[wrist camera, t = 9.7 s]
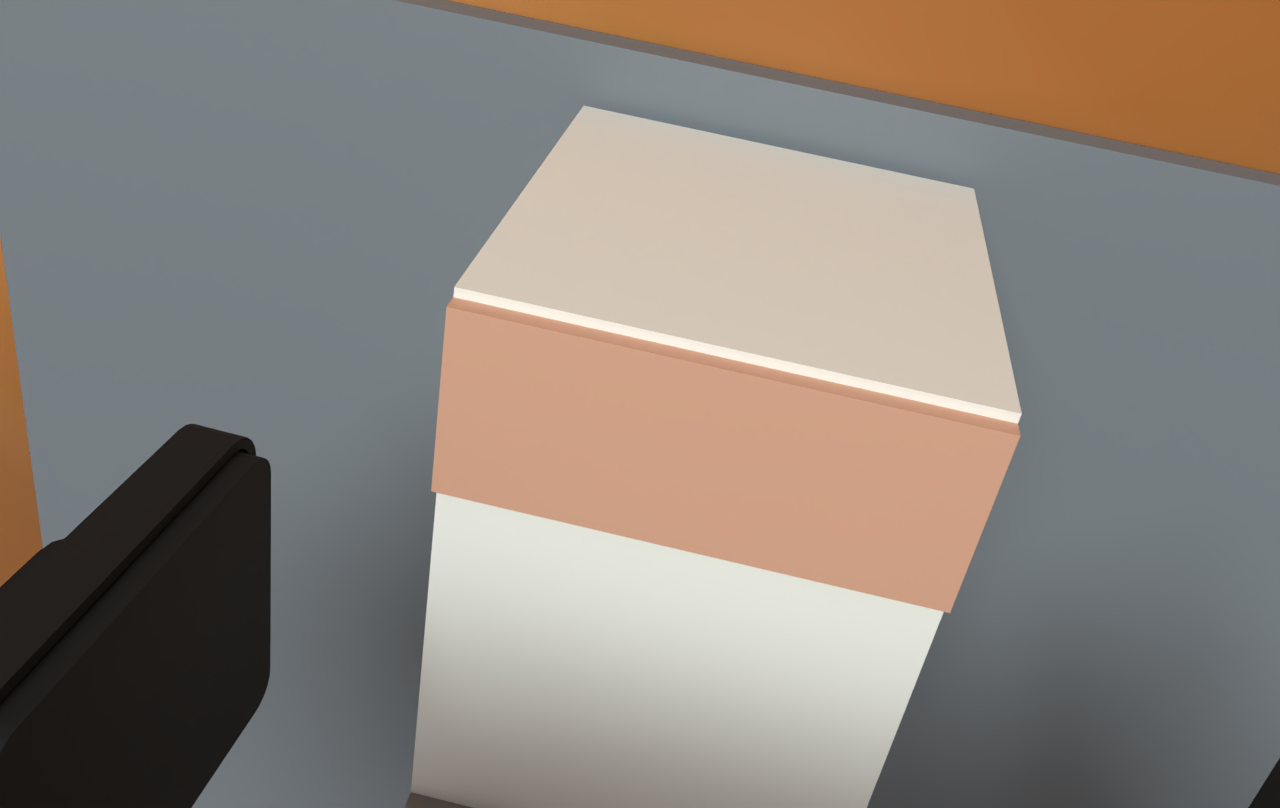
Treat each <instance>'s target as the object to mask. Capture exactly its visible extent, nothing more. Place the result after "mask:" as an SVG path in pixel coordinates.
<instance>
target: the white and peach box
mask: <svg viewBox="0 0 1280 808" xmlns="http://www.w3.org/2000/svg"><path fill="white" fill-rule="evenodd" d="M1021 415H1022V413H1021V408H1020V403H1019V398H1018V394H1017V389H1016V384H1015V380H1014V375H1013V370H1012V365H1011V361H1010V356H1009V351H1008V346H1007V342H1006V337H1005V332H1004V328H1003V323H1002V318H1001V313H1000V309H999V304H998V299H997V294H996V290H995V285H994V280H993V276H992V271H991V266H990V261H989V257H988V252H987V247H986V242H985V238H984V233H983V228H982V224H981V219H980V214H979V209H978V205H977V200H976V195H975V190H974V189H973V188H969V187H964V186H959V185H954V184H950V183H945V182H940V181H936V180H931V179H926V178H922V177H917V176H912V175H908V174H903V173H898V172H893V171H889V170H884V169H879V168H875V167H870V166H865V165H861V164H856V163H851V162H847V161H842V160H837V159H832V158H828V157H823V156H818V155H814V154H809V153H804V152H800V151H795V150H790V149H785V148H781V147H776V146H771V145H767V144H762V143H757V142H753V141H748V140H743V139H739V138H734V137H729V136H724V135H720V134H715V133H710V132H706V131H701V130H696V129H692V128H687V127H682V126H678V125H673V124H668V123H663V122H659V121H654V120H649V119H645V118H640V117H635V116H631V115H626V114H621V113H617V112H612V111H607V110H602V109H598V108H593V107H588V106H583V107H582V109H581V110H580V111H579V113H578V114H577V116H576V117H575V118H574V120H573V121H572V123H571V124H570V125H569V127H568V128H567V130H566V131H565V132H564V134H563V135H562V137H561V138H560V139H559V141H558V142H557V144H556V145H555V146H554V148H553V149H552V151H551V152H550V153H549V155H548V156H547V158H546V159H545V160H544V162H543V163H542V165H541V166H540V167H539V169H538V170H537V172H536V173H535V174H534V176H533V177H532V179H531V180H530V181H529V183H528V184H527V186H526V187H525V188H524V190H523V191H522V193H521V194H520V195H519V197H518V198H517V200H516V201H515V202H514V204H513V205H512V207H511V208H510V209H509V211H508V212H507V214H506V215H505V216H504V218H503V219H502V221H501V222H500V223H499V225H498V226H497V228H496V229H495V230H494V232H493V233H492V235H491V236H490V237H489V239H488V240H487V242H486V243H485V244H484V246H483V247H482V249H481V250H480V251H479V253H478V254H477V256H476V257H475V258H474V260H473V261H472V263H471V264H470V266H469V267H468V268H467V270H466V271H465V273H464V274H463V275H462V277H461V278H460V280H459V281H458V282H457V284H456V285H455V287H454V295H453V298H452V300H451V301H450V302H449V304H448V305H447V307H446V318H445V330H444V342H443V354H442V366H441V378H440V390H439V402H438V415H437V427H436V439H435V451H434V463H433V475H432V487H431V491H432V492H436V505H435V516H434V528H433V540H432V551H431V563H430V574H429V586H428V598H427V609H426V621H425V633H424V644H423V656H422V667H421V679H420V691H419V702H418V714H417V726H416V737H415V749H414V761H413V772H412V784H411V793H410V795H409V798H408V800H407V802H406V805H405V808H867V806H868V803H869V800H870V798H871V795H872V793H873V790H874V788H875V785H876V783H877V780H878V778H879V775H880V773H881V770H882V767H883V765H884V762H885V760H886V757H887V755H888V752H889V750H890V747H891V745H892V742H893V740H894V737H895V734H896V732H897V729H898V727H899V724H900V722H901V719H902V717H903V714H904V712H905V709H906V707H907V704H908V701H909V699H910V696H911V694H912V691H913V689H914V686H915V684H916V681H917V679H918V676H919V674H920V671H921V668H922V666H923V663H924V661H925V658H926V656H927V653H928V651H929V648H930V646H931V643H932V641H933V638H934V635H935V633H936V630H937V628H938V625H939V623H940V620H941V618H942V615H943V613H944V612H948V613H950V612H951V609H952V607H953V604H954V602H955V599H956V597H957V594H958V592H959V589H960V587H961V584H962V582H963V579H964V577H965V574H966V572H967V569H968V566H969V564H970V561H971V559H972V556H973V554H974V551H975V549H976V546H977V544H978V541H979V539H980V536H981V534H982V531H983V529H984V526H985V524H986V521H987V519H988V516H989V514H990V511H991V509H992V506H993V504H994V501H995V499H996V496H997V494H998V491H999V489H1000V486H1001V484H1002V481H1003V479H1004V476H1005V473H1006V471H1007V468H1008V466H1009V463H1010V461H1011V458H1012V456H1013V453H1014V451H1015V448H1016V446H1017V443H1018V441H1019V438H1020V431H1019V426H1018V422H1019V420H1020V417H1021Z"/></svg>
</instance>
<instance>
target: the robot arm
mask: <svg viewBox="0 0 1280 808" xmlns="http://www.w3.org/2000/svg"><path fill="white" fill-rule="evenodd" d="M270 640H271V467H270V463H269V461H268V460H267V459H265V458H263V457H259V456H256V449H255V446H254V443H253V441H252V440H251V439H249V438H248V437H244V436H240V435H236V434H232V433H228V432H224V431H220V430H216V429H213V428H209V427H205V426H201V425H197V424H187V425H185V426H184V427H182V428H181V429H179V430H178V431H177V432H176V433H175V434H174V435H173V436H172V437H171V438H170V439H169V440H168V441H167V442H165V443H164V444H163V445H162V446H161V447H160V448H159V449H158V450H157V451H156V452H155V453H154V454H153V455H152V456H151V457H150V458H149V459H148V460H146V461H145V462H144V463H143V464H142V465H141V466H140V467H139V468H138V469H137V470H136V471H135V472H134V473H133V474H132V475H131V476H130V477H129V478H128V479H126V480H125V481H124V482H123V483H122V484H121V485H120V486H119V487H118V488H117V489H116V490H115V491H114V492H113V493H112V494H111V495H110V496H109V497H108V498H106V499H105V500H104V501H103V502H102V503H101V504H100V505H99V506H98V507H97V508H96V509H95V510H94V511H93V512H92V513H91V514H90V515H89V516H88V517H86V518H85V519H84V520H83V521H82V522H81V523H80V524H79V525H78V526H77V527H76V528H75V529H74V530H73V531H72V532H71V533H70V534H69V535H67V536H66V537H65V538H64V539H61V540H57V541H53V542H51V543H50V544H48V545H47V546H46V547H44V548H43V549H42V550H40V551H39V552H38V553H36V554H35V555H34V556H33V557H32V558H31V559H30V560H29V561H28V562H27V563H26V564H25V565H24V566H23V567H21V568H20V569H19V570H18V571H17V572H16V573H15V574H14V575H13V576H12V577H11V578H10V579H9V580H8V581H7V582H5V583H4V584H3V585H2V586H1V587H0V808H192V806H193V805H194V803H195V802H196V800H197V799H198V797H199V796H200V794H201V793H202V791H203V790H204V788H205V787H206V785H207V784H208V782H209V781H210V779H211V778H212V776H213V775H214V773H215V772H216V770H217V769H218V767H219V766H220V764H221V763H222V761H223V760H224V758H225V757H226V755H227V754H228V753H229V751H230V750H231V748H232V747H233V745H234V744H235V742H236V741H237V739H238V738H239V736H240V735H241V733H242V732H243V730H244V729H245V727H246V726H247V724H248V723H249V721H250V720H251V718H252V717H253V715H254V714H255V712H256V711H257V709H258V707H259V705H260V704H261V701H262V699H263V697H264V695H265V692H266V689H267V686H268V681H269V677H270ZM1248 808H1280V758H1279V760H1278V761H1277V763H1276V764H1275V766H1274V768H1273V769H1272V771H1271V772H1270V774H1269V776H1268V777H1267V779H1266V780H1265V782H1264V783H1263V785H1262V787H1261V788H1260V790H1259V791H1258V793H1257V795H1256V796H1255V798H1254V799H1253V801H1252V803H1251V804H1250V806H1249V807H1248Z"/></svg>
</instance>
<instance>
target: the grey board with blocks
mask: <svg viewBox="0 0 1280 808" xmlns="http://www.w3.org/2000/svg"><path fill="white" fill-rule="evenodd" d="M583 106H588V107H593V108H598V109H602V110H607V111H612V112H617V113H621V114H626V115H631V116H635V117H640V118H645V119H649V120H654V121H659V122H663V123H668V124H673V125H678V126H682V127H687V128H692V129H696V130H701V131H706V132H710V133H715V134H720V135H724V136H729V137H734V138H739V139H743V140H748V141H753V142H757V143H762V144H767V145H771V146H776V147H781V148H785V149H790V150H795V151H800V152H804V153H809V154H814V155H818V156H823V157H828V158H832V159H837V160H842V161H847V162H851V163H856V164H861V165H865V166H870V167H875V168H879V169H884V170H889V171H893V172H898V173H903V174H908V175H912V176H917V177H922V178H926V179H931V180H936V181H940V182H945V183H950V184H954V185H959V186H964V187H969V188H973V189H974V190H975V195H976V200H977V205H978V209H979V214H980V219H981V224H982V228H983V233H984V238H985V242H986V247H987V252H988V257H989V261H990V266H991V271H992V276H993V280H994V285H995V290H996V294H997V299H998V304H999V309H1000V313H1001V318H1002V323H1003V328H1004V332H1005V337H1006V342H1007V346H1008V351H1009V356H1010V361H1011V365H1012V370H1013V375H1014V380H1015V384H1016V389H1017V394H1018V398H1019V403H1020V408H1021V413H1022V415H1021V417H1020V420H1019V422H1018V426H1019V431H1020V438H1019V441H1018V443H1017V446H1016V448H1015V451H1014V453H1013V456H1012V458H1011V461H1010V463H1009V466H1008V468H1007V471H1006V473H1005V476H1004V479H1003V481H1002V484H1001V486H1000V489H999V491H998V494H997V496H996V499H995V501H994V504H993V506H992V509H991V511H990V514H989V516H988V519H987V521H986V524H985V526H984V529H983V531H982V534H981V536H980V539H979V541H978V544H977V546H976V549H975V551H974V554H973V556H972V559H971V561H970V564H969V566H968V569H967V572H966V574H965V577H964V579H963V582H962V584H961V587H960V589H959V592H958V594H957V597H956V599H955V602H954V604H953V607H952V609H951V612H950V613H948V612H944V613H943V615H942V618H941V620H940V623H939V625H938V628H937V630H936V633H935V635H934V638H933V641H932V643H931V646H930V648H929V651H928V653H927V656H926V658H925V661H924V663H923V666H922V668H921V671H920V674H919V676H918V679H917V681H916V684H915V686H914V689H913V691H912V694H911V696H910V699H909V701H908V704H907V707H906V709H905V712H904V714H903V717H902V719H901V722H900V724H899V727H898V729H897V732H896V734H895V737H894V740H893V742H892V745H891V747H890V750H889V752H888V755H887V757H886V760H885V762H884V765H883V767H882V770H881V773H880V775H879V778H878V780H877V783H876V785H875V788H874V790H873V793H872V795H871V798H870V800H869V803H868V806H867V808H1248V807H1249V806H1250V804H1251V803H1252V801H1253V799H1254V798H1255V796H1256V795H1257V793H1258V791H1259V790H1260V788H1261V787H1262V785H1263V783H1264V782H1265V780H1266V779H1267V777H1268V776H1269V774H1270V772H1271V771H1272V769H1273V768H1274V766H1275V764H1276V763H1277V761H1278V760H1279V758H1280V174H1275V173H1270V172H1265V171H1261V170H1256V169H1251V168H1246V167H1241V166H1237V165H1232V164H1227V163H1222V162H1218V161H1213V160H1208V159H1203V158H1198V157H1194V156H1189V155H1184V154H1179V153H1175V152H1170V151H1165V150H1160V149H1155V148H1151V147H1146V146H1141V145H1136V144H1132V143H1127V142H1122V141H1117V140H1112V139H1108V138H1103V137H1098V136H1093V135H1088V134H1084V133H1079V132H1074V131H1069V130H1065V129H1060V128H1055V127H1050V126H1045V125H1041V124H1036V123H1031V122H1026V121H1022V120H1017V119H1012V118H1007V117H1002V116H998V115H993V114H988V113H983V112H979V111H974V110H969V109H964V108H959V107H955V106H950V105H945V104H940V103H935V102H931V101H926V100H921V99H916V98H912V97H907V96H902V95H897V94H892V93H888V92H883V91H878V90H873V89H869V88H864V87H859V86H854V85H849V84H845V83H840V82H835V81H830V80H825V79H821V78H816V77H811V76H806V75H802V74H797V73H792V72H787V71H782V70H778V69H773V68H768V67H763V66H759V65H754V64H749V63H744V62H739V61H735V60H730V59H725V58H720V57H716V56H711V55H706V54H701V53H696V52H692V51H687V50H682V49H677V48H672V47H668V46H663V45H658V44H653V43H649V42H644V41H639V40H634V39H629V38H625V37H620V36H615V35H610V34H606V33H601V32H596V31H591V30H586V29H582V28H577V27H572V26H567V25H562V24H558V23H553V22H548V21H543V20H539V19H534V18H529V17H524V16H519V15H515V14H510V13H505V12H500V11H496V10H491V9H486V8H481V7H476V6H472V5H467V4H462V3H457V2H453V1H448V0H0V237H1V244H2V251H3V259H4V266H5V273H6V281H7V288H8V295H9V303H10V310H11V317H12V324H13V332H14V339H15V346H16V354H17V361H18V368H19V376H20V383H21V390H22V398H23V405H24V412H25V420H26V427H27V434H28V441H29V449H30V456H31V463H32V471H33V478H34V485H35V493H36V500H37V507H38V515H39V522H40V529H41V536H42V544H43V548H44V547H46V546H47V545H48V544H50V543H51V542H53V541H57V540H61V539H64V538H65V537H66V536H67V535H69V534H70V533H71V532H72V531H73V530H74V529H75V528H76V527H77V526H78V525H79V524H80V523H81V522H82V521H83V520H84V519H85V518H86V517H88V516H89V515H90V514H91V513H92V512H93V511H94V510H95V509H96V508H97V507H98V506H99V505H100V504H101V503H102V502H103V501H104V500H105V499H106V498H108V497H109V496H110V495H111V494H112V493H113V492H114V491H115V490H116V489H117V488H118V487H119V486H120V485H121V484H122V483H123V482H124V481H125V480H126V479H128V478H129V477H130V476H131V475H132V474H133V473H134V472H135V471H136V470H137V469H138V468H139V467H140V466H141V465H142V464H143V463H144V462H145V461H146V460H148V459H149V458H150V457H151V456H152V455H153V454H154V453H155V452H156V451H157V450H158V449H159V448H160V447H161V446H162V445H163V444H164V443H165V442H167V441H168V440H169V439H170V438H171V437H172V436H173V435H174V434H175V433H176V432H177V431H178V430H179V429H181V428H182V427H184V426H185V425H187V424H197V425H201V426H205V427H209V428H213V429H216V430H220V431H224V432H228V433H232V434H236V435H240V436H244V437H248V438H249V439H251V440H252V441H253V443H254V446H255V449H256V456H259V457H263V458H265V459H267V460H268V461H269V463H270V467H271V640H270V677H269V681H268V686H267V689H266V692H265V695H264V697H263V699H262V701H261V704H260V705H259V707H258V709H257V711H256V712H255V714H254V715H253V717H252V718H251V720H250V721H249V723H248V724H247V726H246V727H245V729H244V730H243V732H242V733H241V735H240V736H239V738H238V739H237V741H236V742H235V744H234V745H233V747H232V748H231V750H230V751H229V753H228V754H227V755H226V757H225V758H224V760H223V761H222V763H221V764H220V766H219V767H218V769H217V770H216V772H215V773H214V775H213V776H212V778H211V779H210V781H209V782H208V784H207V785H206V787H205V788H204V790H203V791H202V793H201V794H200V796H199V797H198V799H197V800H196V802H195V803H194V805H193V806H192V808H405V805H406V802H407V800H408V798H409V795H410V793H411V784H412V772H413V761H414V749H415V737H416V726H417V714H418V702H419V691H420V679H421V667H422V656H423V644H424V633H425V621H426V609H427V598H428V586H429V574H430V563H431V551H432V540H433V528H434V516H435V505H436V492H432V491H431V487H432V475H433V463H434V451H435V439H436V427H437V415H438V402H439V390H440V378H441V366H442V354H443V342H444V330H445V318H446V307H447V305H448V304H449V302H450V301H451V300H452V298H453V295H454V287H455V285H456V284H457V282H458V281H459V280H460V278H461V277H462V275H463V274H464V273H465V271H466V270H467V268H468V267H469V266H470V264H471V263H472V261H473V260H474V258H475V257H476V256H477V254H478V253H479V251H480V250H481V249H482V247H483V246H484V244H485V243H486V242H487V240H488V239H489V237H490V236H491V235H492V233H493V232H494V230H495V229H496V228H497V226H498V225H499V223H500V222H501V221H502V219H503V218H504V216H505V215H506V214H507V212H508V211H509V209H510V208H511V207H512V205H513V204H514V202H515V201H516V200H517V198H518V197H519V195H520V194H521V193H522V191H523V190H524V188H525V187H526V186H527V184H528V183H529V181H530V180H531V179H532V177H533V176H534V174H535V173H536V172H537V170H538V169H539V167H540V166H541V165H542V163H543V162H544V160H545V159H546V158H547V156H548V155H549V153H550V152H551V151H552V149H553V148H554V146H555V145H556V144H557V142H558V141H559V139H560V138H561V137H562V135H563V134H564V132H565V131H566V130H567V128H568V127H569V125H570V124H571V123H572V121H573V120H574V118H575V117H576V116H577V114H578V113H579V111H580V110H581V109H582V107H583Z"/></svg>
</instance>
